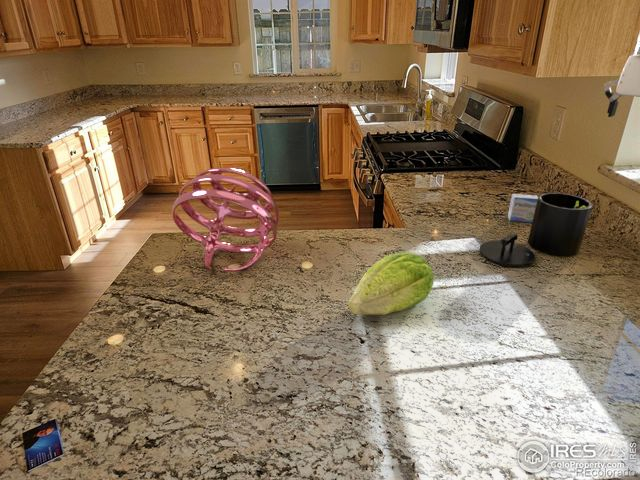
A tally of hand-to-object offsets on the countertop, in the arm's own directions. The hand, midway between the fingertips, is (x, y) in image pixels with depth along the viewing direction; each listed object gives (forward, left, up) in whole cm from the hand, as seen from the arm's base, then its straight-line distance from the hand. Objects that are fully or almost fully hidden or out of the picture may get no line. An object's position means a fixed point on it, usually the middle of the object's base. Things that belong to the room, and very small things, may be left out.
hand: (630, 118), depth 116 cm
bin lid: (+12, +31, -36) cm, 49 cm away
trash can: (+6, +15, -36) cm, 40 cm away
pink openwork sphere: (+62, +91, -36) cm, 116 cm away
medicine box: (+22, +3, -36) cm, 43 cm away
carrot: (+6, +15, -36) cm, 39 cm away
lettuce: (+17, +76, -36) cm, 86 cm away
